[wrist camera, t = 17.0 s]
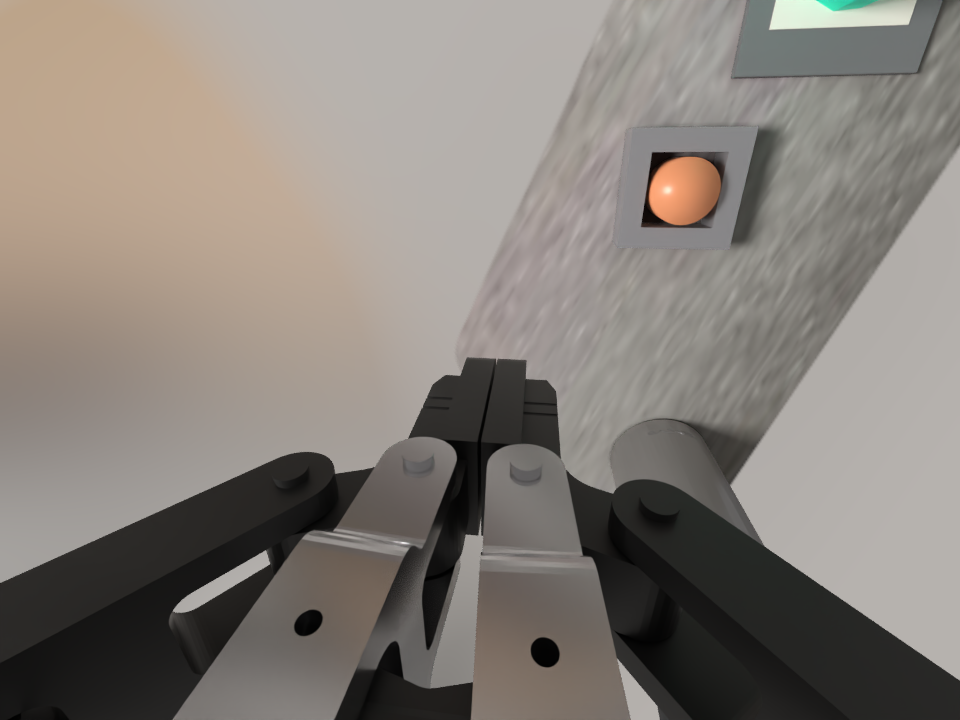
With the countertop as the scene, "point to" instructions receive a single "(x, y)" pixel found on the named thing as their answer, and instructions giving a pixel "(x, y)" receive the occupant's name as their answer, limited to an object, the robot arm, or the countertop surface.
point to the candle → (845, 4)
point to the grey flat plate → (833, 38)
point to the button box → (640, 143)
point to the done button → (682, 189)
